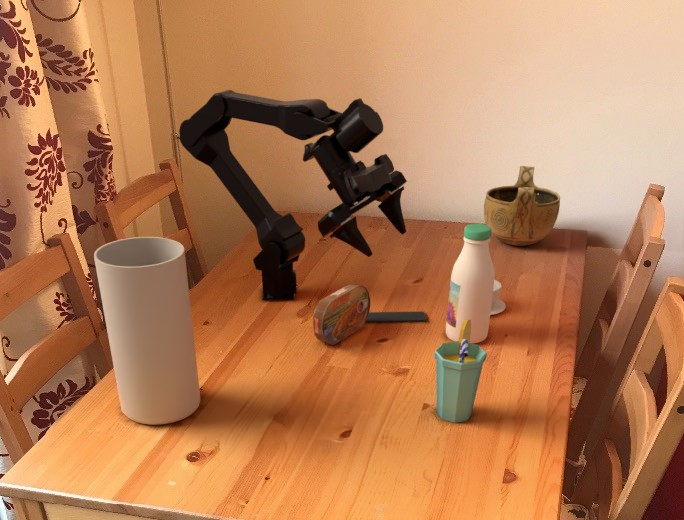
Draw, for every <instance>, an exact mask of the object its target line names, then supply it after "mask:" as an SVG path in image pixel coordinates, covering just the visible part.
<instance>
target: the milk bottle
mask: <svg viewBox="0 0 684 520" xmlns="http://www.w3.org/2000/svg"><path fill="white" fill-rule="evenodd" d="M463 229H464V230H463V239H462V240H463V241H464V243H463V247H462V249H461V251H460V254H459V256H458V257H457V258H456V260H455V262H454V265H453V267H452V270H451V275H450V283H449V289H448V290H449V292H448V299H447V300H448V302H447V310H446V319H445V320H446V322H445V336H446V337H447V338H448V339H449V340H451V341H452V342H456V341H459V336H460V329H461V327H462V324H463V321H464V320H471V335H470V342H469V343H472V344H477V343H478V344H479V343H482V342H484V341H485V340H486V339H487V337H488V335H489V327H490V320H491V315H490V313H491V305H492V297H493V288H494V280H495V266H494V263H493V260H492V257H491V254H490V248H489V246H490V245H489V244H490V242H491V237H492V233H491V232H492V229H491V227H490V226H488V225H486V224H485V223H483V224H482V223H471V224H467V225H465V227H464V228H463Z"/></svg>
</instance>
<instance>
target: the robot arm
mask: <svg viewBox="0 0 684 520" xmlns="http://www.w3.org/2000/svg"><path fill="white" fill-rule="evenodd" d="M232 119H237V120H241V121H246V122H251V123H256V124H262V125H267V126H271V127H275V128H277V129H279V130H280V131H282V132H283V134H286V136H289V137H292V138H294V139H297V140H299V141H307V140H310V139H313V138H315V137H318V136H320V135H322V136H320V137H319V138H318V139H317V140H316V141H315V142H309V143H307V144H305V145H304V147H303V148H304V151H303V152H304V153H303V154H302V161H303V162H305V163H306V162H308V161H310V160H314V159H315V161H316V163H317V164H318V166H319V168H320V169H321V171H322V172H323V174H324V176H325V177H326V179H327V180H328V182H329V183H328V185H326V187H327V189H328V191H329V192H331V191H332V190H334V192H335V193H336V195H337V196H338V198H339V199H340V201H341V202H342V203H340V204H338V205H336V206H335V207H333V208H332V209H331V210H329V211H328V212H327V213H326V214H325V215H323V216H322V217H321V218H320V219H319V220H318V221H317V227H318V228H317V230H318V231H319V233H320V234H321V236H322V238H326V237H327V236H328V235H329V238H330V239H333V238H336V239H337V240H339V241H341V242H343V243H345V244H347V245H349V246H351V247H352V248H354V249H355V250H357V251H358V252H360V253H361V254H363V255H364V256H366V257H368V258H370V257H372V256H373V254H374V253H373V252H372V249H371V247H370V245H369V243H368V242H367V240H366V238H365V237H364V236H363V234H362V232H361V231H360V229H359V227H358V221H357V216H354V217H352V218H351V216H353V215H354V214H356V213H358V212H360V211H361V210H362V209H364V208H366V207H367V206H369V205H371V204H372V203H374V202H375V201H376V202H378V203H379V204H378V205H377V207H378V209H379V210H380V211H381V212H382V213H383V216H384V217H386V218H387V220H388V221H389V222H390V223H391V225H392V226H393V227H394V228H395V230H396V231H398V232H399V233H400V234H401V235H405V234H406V233H407V228H406V223H405V219H404V215H403V211H402V205H401V197H402V193H403V191H405V184H406V183H407V182H408V181H407V179H406V177H405V175H404V173H403V172H402V171H400V170H397V169H395V167H394V163H393V161H392V159H391V158H390V157H389V155H387V153H385V154H384V153H383V154H380V155H379V156H377V157H375V158H374V160H373V162H374V163H373V164H371V165H370V166H366V164H365V162H363V161H362V160H361V159H360V160H358V161H357V162H356V160H355V158H354V156H353V155H352V153H353V154H359V153H360V152H362V150H364V149H365V148H366V147H367V146H368V145H369V144H371V142H373V141H374V140H375V139H376V138H378V137H379V136H380V135H381V134H382V133H383V131H384V124H383V123H384V122H383V121H382V118H381V116H380V114H379V113H378V112H377V111H376V110H375V109H373V107H371V106H370V105H368V104H366V103H365V102H364V101H363V99H362V98H361V97H359V98H356V99H354V100H353V101H351V102H350V103H349V105H348V107H346V109H345V110H343V112H340V111H338V110H335V109H333V108H330V107H328V104H327V102H326V101H325V100H322V99H320V98H310V99H308V98H307V99H297V100H280V99H279V100H278V99H273V98H268V97H263V96H257V95H252V94H246V93H241V92H236V91H234V90H232V89H226V90H222V91H219V92H215V93H213V95H212V96H210V98H209V99H208V101H207V102H206V103H205V104H204V105H202V106H201V107H200V108H199V109H198V110H197V111H195V112H194V113H193V114H192V115H191V116H190V117H189V118H188V119H184V120H183V121H182V122H181V124H180V126H179V130H178V133H179V136H178V139H179V142H180V144H181V146H182V147H183V148H184V149H185V150H186V151H187V152H188V153H189V154H190V155H191V156H192V157H193V159H195V160H197V161H199V162H200V163H202V164H204V165H206V166H208V167H209V168H210V169H211V171H213V173H214V174H215V175H216V177H217V178H218V179H219V181H220V182H221V183H222V185H223V186H224V187H225V189H226V190H227V191H228V193H229V194H230V195H231V197H232V198H233V199H234V201H235V202H236V203H237V205H238V206H239V207H240V209H241V210H242V212H244V214H245V215H246V218H248V219H249V221H250V222H251V223H252V225H253V226H254V228H255V229H256V230H255V231H256V236H257V241H258V245H259V247H260V248H261V250H260V252H259V253H258V254H256V256H254V257H253V259H252V260H253V261H252V262H253V264H254V268H255V270H256V271H259V272H260V271H261V284H262V285H261V286H262V292H261V293H262V294H261V300H262V301H293V300H295V295H296V294H297V270H296V269H294V263H296V262H298V261H299V259H300V255H302V253H304V251H305V248H306V236H305V235H304V233H303V231H304V228H303V227H302V226H300V225H299V223H297V221H296V219H295V218H294V216H293V214H291V213H290V212H289V213H286V214H284V215H282V214H280V213H279V212H277V211H276V210H275V209H274V207H273V206H272V205H271V204H270V202H269V201H268V200H267V198H266V197H265V195H264V194H263V193H262V191H261V190H260V189H259V188H258V186H257V185H256V183H255V182H254V180H253V179H252V178H251V176H250V175H249V174H248V173H247V171H246V170H245V168H244V167H243V166H242V165H241V163H240V162H239V161H238V160H237V158H236V157H235V155H234V154H233V153H232V151H231V148H230V146H231V145H230V141H229V140H230V139H229V136H228V134H227V132H226V129H227V128H228V127H229V126H230V124H231V122H232ZM330 131H333V132H332V133H331V134H329V135H328V134H326V133H328V132H330Z"/></svg>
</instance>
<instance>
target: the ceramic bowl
mask: <svg viewBox="0 0 684 520" xmlns="http://www.w3.org/2000/svg"><path fill="white" fill-rule="evenodd" d="M534 175H535V166H527V165H521V166H520V167H519V171H518V177H517V181H516V182H515V184H514V185H502V186H497V187H493V188H490V189H488V190H487V191H486V193H485V198H484V202H483V203H484V204H483V218H484V222H485V223H484V224H485V225H488V226H490V227H491V229H492V232H491V236H493V237H495V238H497V240H499V241H501V242H502V243H505V244H507V245H509V246H515V247H524V246H525V247H526V246H530V245H534V244H536V243H539V242H540V241H542V240H543V239H545V238H546V237H547V236H548V235H549V234H550V233H551V231H552V230H553V228H554V227H555V225H556V222H557V220H558V217H559V213H560V206H561V196H560V194H559V193H558V192H556V191H554V190H551V189H548V188H544V187H539V186H537V185H536V184H535V182H534Z"/></svg>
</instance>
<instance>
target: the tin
mask: <svg viewBox="0 0 684 520" xmlns="http://www.w3.org/2000/svg"><path fill="white" fill-rule="evenodd" d="M370 310H371V295H370V292H369V290H368V288H367V287H366V286H364V285H358V284H351V283H350V284H348V285H346V286H343V287H341V288H340V289H338V290H336V291H334V292H332V293H330V294H328V295H327V296H325V297H323V298H322V299H321V300H320V301H319V302H318V303H317V305H316V307H315V309H314V312H313V314H312V326H313V327H312V328H313V334H314V336H315V338H316V339H317V341H320V342H323V343H326V344H328V345H336V344H338V343H340V342H342V341H343V340H345V339H346V338H348V337H349V336H352V335H353V334H354V333H356V332H358V331H359V330H361V329H362V328H363V327H364V326H365V324H366V323H365V322H366V320H367V318H368V315H369V312H371V311H370Z"/></svg>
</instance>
